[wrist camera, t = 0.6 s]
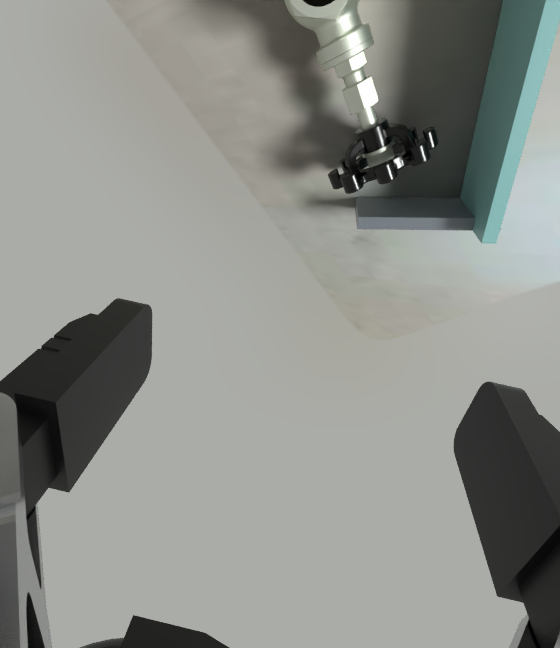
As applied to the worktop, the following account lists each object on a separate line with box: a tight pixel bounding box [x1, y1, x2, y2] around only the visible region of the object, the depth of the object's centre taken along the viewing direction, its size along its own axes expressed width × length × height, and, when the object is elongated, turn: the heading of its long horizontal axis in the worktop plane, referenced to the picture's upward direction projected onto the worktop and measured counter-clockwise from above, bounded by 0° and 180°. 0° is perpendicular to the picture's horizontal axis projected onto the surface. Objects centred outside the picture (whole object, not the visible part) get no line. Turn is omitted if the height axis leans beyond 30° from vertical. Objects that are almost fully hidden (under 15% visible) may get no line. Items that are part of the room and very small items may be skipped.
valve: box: [284, 0, 439, 194], centre depth 22 cm, size 7×7×12 cm
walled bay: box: [355, 0, 560, 243], centre depth 22 cm, size 18×8×6 cm, turn 2°
